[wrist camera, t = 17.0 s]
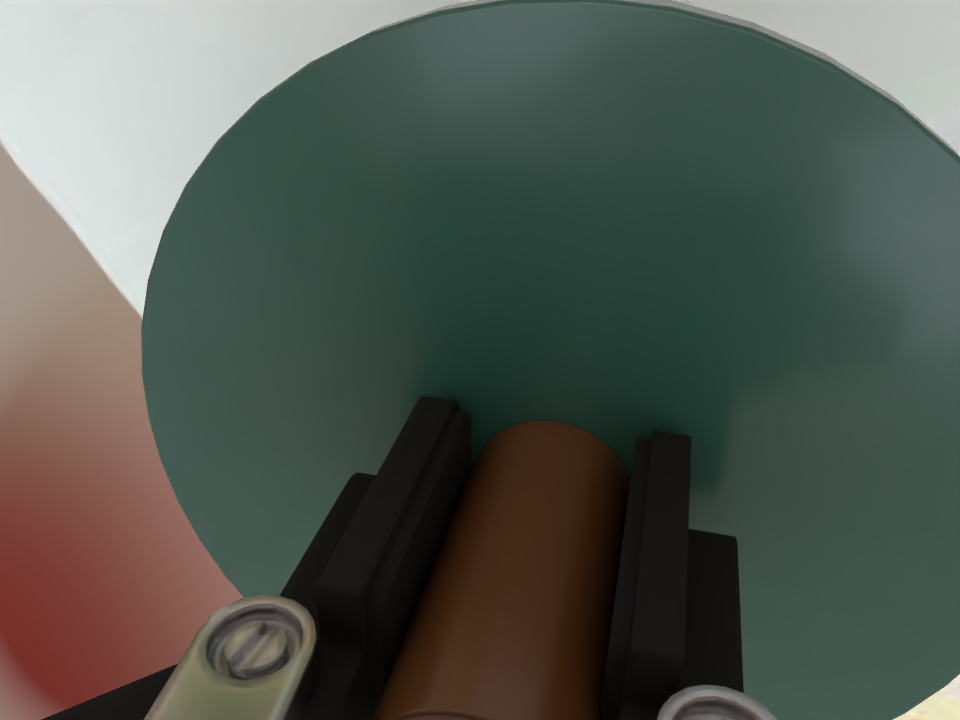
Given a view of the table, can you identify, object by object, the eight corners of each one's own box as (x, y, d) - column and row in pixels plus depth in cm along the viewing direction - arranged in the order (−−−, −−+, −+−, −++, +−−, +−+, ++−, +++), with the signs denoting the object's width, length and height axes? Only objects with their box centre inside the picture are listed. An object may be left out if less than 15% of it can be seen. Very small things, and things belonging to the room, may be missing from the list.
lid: (106, -40, 11) (-405, 30, 6) (1245, 17, 9) (2029, 220, 4) (234, 644, 18) (44, 950, 13) (893, 787, 16) (986, 1240, 10)
